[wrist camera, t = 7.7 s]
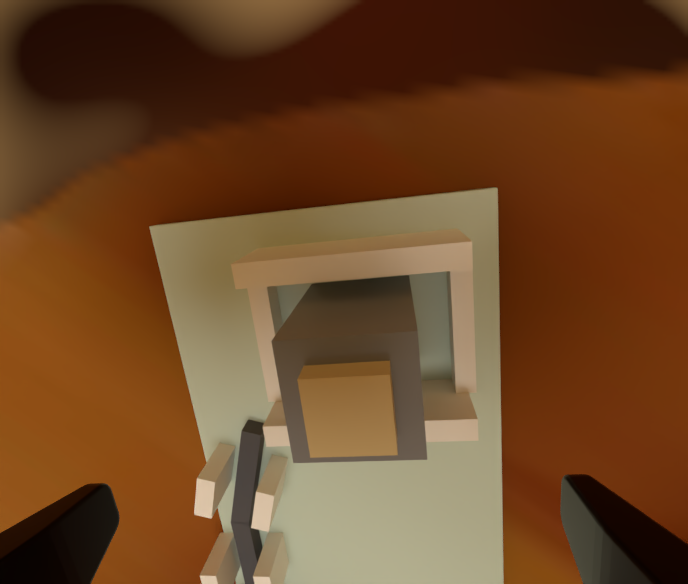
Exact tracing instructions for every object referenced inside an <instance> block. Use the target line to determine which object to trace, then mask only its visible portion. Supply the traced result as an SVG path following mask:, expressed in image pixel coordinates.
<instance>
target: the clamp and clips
mask: <svg viewBox="0 0 688 584" xmlns="http://www.w3.org/2000/svg"><path fill="white" fill-rule="evenodd" d="M234 455H235V446H232V445H227V444H223V443H219V444H218V446H217V448H216V449H215V451H214V452H213V454H212V455H211V457H210V459H209V460H208V462H207V463H206V465H205V467H204V468H203V470H202V471H201V473H200V474H199V476H198V478H197V486H196V498H195V510H194V515H198V516H203V517H207V518H211V519H212V517H213V515H214V513H215V511H216V509H217V507H218V505H219V503H220V501H221V499H222V497H223V495H224V494H225V492H226V490H227V488H228V486H229V484H230V482H231V480H232V473H233V464H234ZM287 461H288V458H285V457H281V456H276V455H271V458H270V460H269V462H268V465H267V467H266V469H265V472H264V474H263V476H262V479H261V481H260V484H259V486H258V488H257V491H256V496H255V503H254V510H253V517H252V525H251V528H254V529H258V530H262V531H266V532H269V530H270V527H271V524H272V521H273V518H274V515H275V512H276V509H277V506H278V503H279V501H280V498H281V495H282V492H283V486H284V480H285V474H286V467H287ZM288 565H289V561H288V556H287V551H286V546H285V541H284V536H283V533H268V534H267V537H266V540H265V543H264V546H263V548H262V551H261V554H260V557H259V560H258V563H257V566H256V569H255V572H254V575H253V579H254V584H284V580H285V576H286V572H287V568H288ZM240 566H241V564H240V560H239V556H238V551H237V547H236V543H235V539H234V534H233V533H220V534H219V536H218V538H217V540H216V542H215V544H214V547H213V549H212V551H211V553H210V555H209V557H208V559H207V561H206V563H205V565H204V568H203V570H202V572H201V574H200V579H201V582H202V584H234V581H235V579H236V576H237V573H238V571H239V568H240Z"/></svg>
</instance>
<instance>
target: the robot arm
mask: <svg viewBox="0 0 688 584" xmlns="http://www.w3.org/2000/svg"><path fill="white" fill-rule="evenodd" d="M561 519H562V523H563V527H564V530H565V532H566V535H567V538H568V541H569V544H570V547H571V550H572V552H573V555H574V558H575V561H576V564H577V567H578V570H579V573H580V575H581V578H582V581H583V584H688V544H687V543H685V542H684V541H683V540H681V539H680V538H678V537H677V536H675V535H674V534H673V533H671V532H670V531H668V530H667V529H665V528H664V527H663V526H661V525H660V524H658V523H657V522H655V521H654V520H653V519H651V518H650V517H648V516H647V515H645V514H644V513H643V512H641V511H640V510H638V509H637V508H635V507H634V506H633V505H631V504H630V503H628V502H627V501H625V500H624V499H622V498H621V497H620V496H618V495H617V494H615V493H614V492H612V491H611V490H610V489H608V488H607V487H605V486H604V485H602V484H601V483H600V482H598V481H597V480H595V479H594V478H592V477H591V476H589V475H585V474H572V475H565V476H564V477H563V479H562V486H561ZM118 524H119V512H118V509H117V506H116V503H115V500H114V497H113V493H112V490H111V488H110V487H109V486H108V485H107V484H104V483H96V484H87V485H84V486H83V487H81V488H79V489H77V490H75V491H74V492H72V493H70V494H68V495H67V496H65V497H63V498H61V499H60V500H58V501H56V502H54V503H53V504H51V505H49V506H47V507H46V508H44V509H42V510H40V511H38V512H37V513H35V514H33V515H31V516H30V517H28V518H26V519H24V520H23V521H21V522H19V523H17V524H16V525H14V526H12V527H10V528H9V529H7V530H5V531H3V532H1V533H0V584H91V582H92V580H93V578H94V576H95V573H96V571H97V569H98V567H99V565H100V563H101V561H102V559H103V557H104V555H105V553H106V550H107V548H108V546H109V544H110V542H111V540H112V538H113V536H114V534H115V532H116V530H117V527H118Z"/></svg>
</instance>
